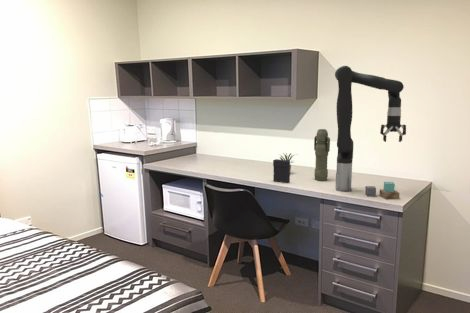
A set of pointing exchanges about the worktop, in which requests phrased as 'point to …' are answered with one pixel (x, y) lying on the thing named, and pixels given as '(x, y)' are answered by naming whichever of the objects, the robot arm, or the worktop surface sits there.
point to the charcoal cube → (370, 191)
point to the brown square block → (389, 194)
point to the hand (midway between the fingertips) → (392, 141)
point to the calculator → (281, 170)
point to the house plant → (288, 158)
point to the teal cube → (389, 186)
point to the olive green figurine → (321, 154)
